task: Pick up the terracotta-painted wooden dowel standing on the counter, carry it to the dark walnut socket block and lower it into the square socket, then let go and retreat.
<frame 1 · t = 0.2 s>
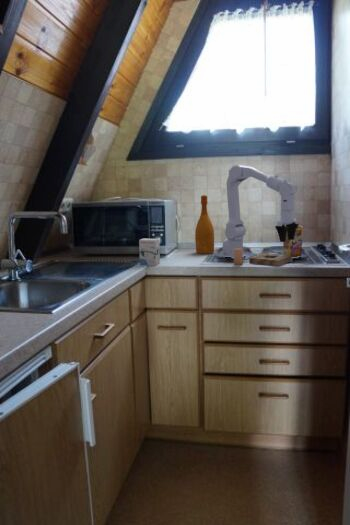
hand: (286, 240, 190), 10 cm above the counter, fingers open, 7 cm apart
socket block: (270, 262, 195), on the counter
peg: (238, 264, 191), on the counter
candy box: (292, 258, 202), on the counter
wine bottle: (205, 253, 224), on the counter
ink box: (150, 264, 199), on the counter
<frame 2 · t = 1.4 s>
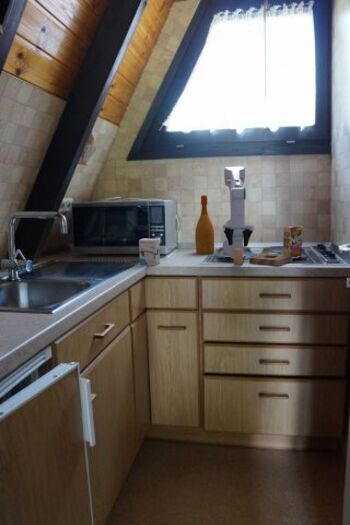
hand: (238, 245, 190), 9 cm above the counter, fingers open, 7 cm apart
nothing on the counter moved.
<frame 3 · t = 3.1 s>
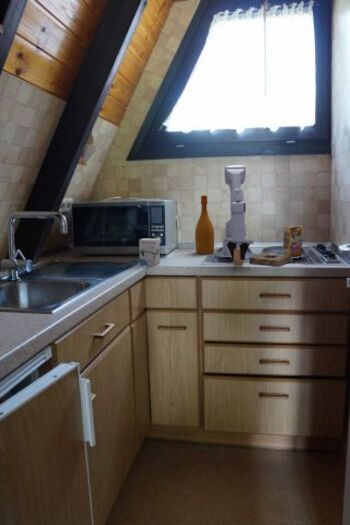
hand: (238, 259, 191), 2 cm above the counter, fingers closed on peg, 4 cm apart
peg: (238, 264, 191), on the counter, touching gripper
everything else where it was.
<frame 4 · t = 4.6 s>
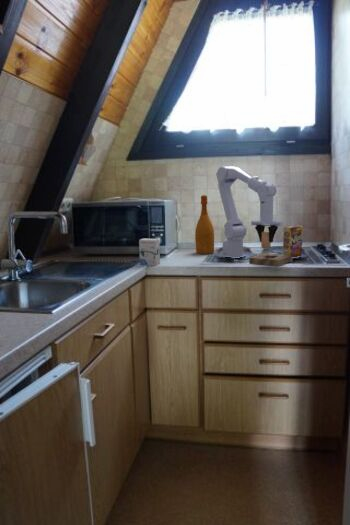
hand: (266, 241, 192), 9 cm above the counter, fingers closed on peg, 4 cm apart
peg: (265, 247, 192), point 7 cm above the counter, touching gripper
everything else where it was.
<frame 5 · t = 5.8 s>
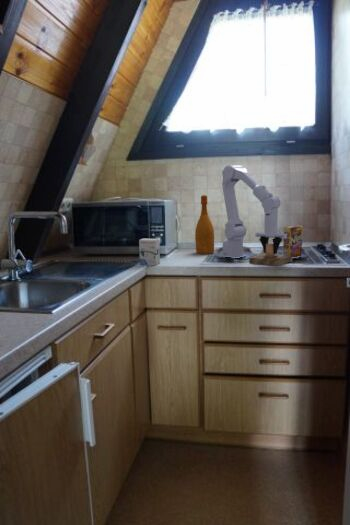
hand: (270, 253, 194), 4 cm above the counter, fingers closed on peg, 4 cm apart
peg: (270, 259, 194), point 1 cm above the counter, touching gripper
everything else where it was.
when the fingers open (4 cm above the counter, at t = 6.6 s): peg drops 1 cm, resting in socket block.
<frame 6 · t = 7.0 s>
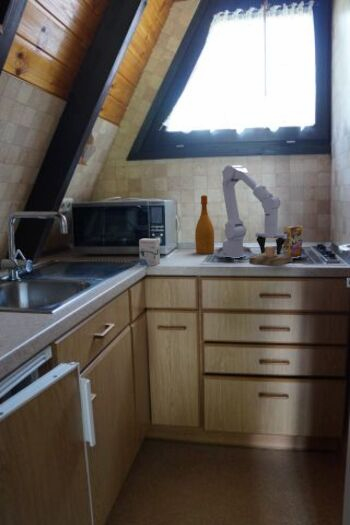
hand: (270, 253, 194), 4 cm above the counter, fingers open, 7 cm apart
peg: (270, 262, 194), resting in socket block
everything else where it was.
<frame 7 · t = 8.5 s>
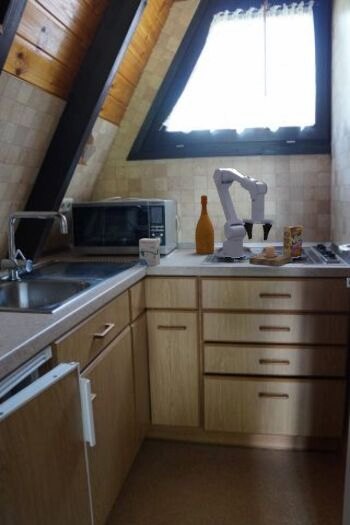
hand: (257, 239, 193), 10 cm above the counter, fingers open, 7 cm apart
nothing on the counter moved.
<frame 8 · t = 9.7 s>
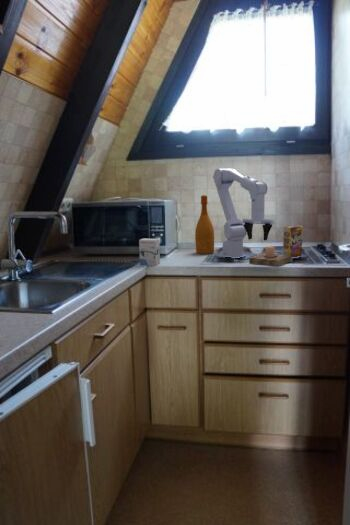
hand: (257, 239, 193), 10 cm above the counter, fingers open, 7 cm apart
nothing on the counter moved.
at the end: peg 0.4 cm off-centre on the socket block, point 0.0 cm above the socket block's base; peg tilted 0°; the gripper is holding nothing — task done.
